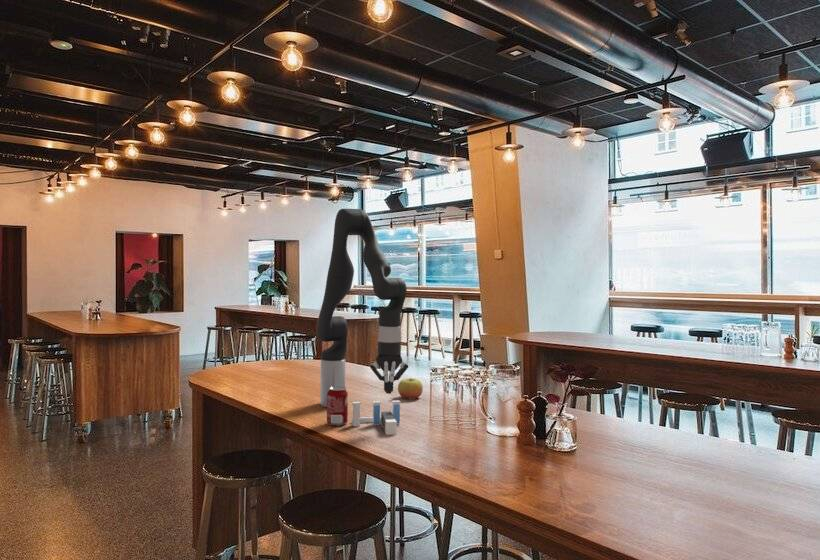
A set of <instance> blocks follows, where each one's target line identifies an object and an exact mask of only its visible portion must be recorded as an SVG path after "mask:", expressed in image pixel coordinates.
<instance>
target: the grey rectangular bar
mask: <svg viewBox="0 0 820 560" xmlns="http://www.w3.org/2000/svg"><path fill="white" fill-rule="evenodd" d="M380 417H381V422H380V424H381V426H383V427H382V429H383V431H384V433H385V435H386V436H395V435H396V436H397V432H398V431H397V427H398V425H397V421H396V420H395V418H394V416H393V412H392V410H388V411H380Z"/></svg>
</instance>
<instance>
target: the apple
mask: <svg viewBox="0 0 820 560" xmlns="http://www.w3.org/2000/svg"><path fill="white" fill-rule="evenodd" d="M423 387H424V386H423V383H422V381H421V380H419V379H416V378H403V379H401V380H400V382H398V384H397V392H398V393H399V395H400V396H401V398H403V399H406V400H416V399H418V398H419V397H421V395H422V394H423V389H424V388H423Z"/></svg>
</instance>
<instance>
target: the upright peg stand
mask: <svg viewBox="0 0 820 560" xmlns="http://www.w3.org/2000/svg"><path fill="white" fill-rule="evenodd" d="M351 403H352V418H351V419H352V420H351V424H352V426H353V427H360V424H361V423H362V424H364V423H367V422H368V423H372V426H376V425H377V426H380V424H381V409H380V408H381V404H382V403H381V401H380V400H373V401H372V416H368V417H367V416H366V417H364V416H363V417H360V416H361V415H360V414H361V413H360V412H361V404H362V403H361V401H352V402H351ZM391 403H392V414H393V416H394V418H395V420H396V421H397V426H398V425H400V421H401V418H400V417H401V416H400V415H401V413H400V412H401V401H400V400H398V399H397V400H392V401H391ZM377 426H376V427H377Z"/></svg>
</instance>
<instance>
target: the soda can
mask: <svg viewBox="0 0 820 560" xmlns="http://www.w3.org/2000/svg"><path fill="white" fill-rule="evenodd" d="M346 387H347V386H345V387H343V386H333V387H330V388H329V391H328V393H327V407H326V423H327V424H328V425H329V426H332V427H341V426H344V425H346V424H347V423H348V418H349V417H348V410H349V409H348V405H349V404H348V403H349V402H348V398H349V392H348V391H347V390H346V389H347V388H346Z"/></svg>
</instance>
